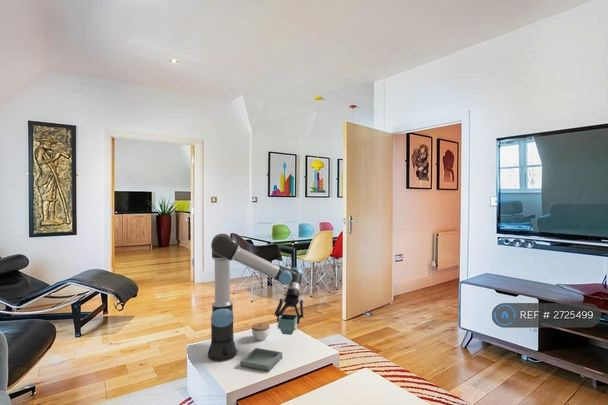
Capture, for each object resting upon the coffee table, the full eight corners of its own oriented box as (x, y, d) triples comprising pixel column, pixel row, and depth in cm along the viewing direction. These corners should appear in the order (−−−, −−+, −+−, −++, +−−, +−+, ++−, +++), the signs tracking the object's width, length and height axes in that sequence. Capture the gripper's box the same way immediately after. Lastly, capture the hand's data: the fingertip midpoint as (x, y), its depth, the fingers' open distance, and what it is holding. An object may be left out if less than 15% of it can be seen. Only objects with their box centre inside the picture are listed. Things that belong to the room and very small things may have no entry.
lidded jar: (273, 337, 202) (273, 322, 202) (261, 343, 193) (261, 327, 193) (259, 333, 208) (259, 319, 208) (248, 339, 199) (248, 324, 199)
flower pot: (293, 337, 177) (294, 320, 177) (278, 335, 179) (278, 319, 179) (297, 331, 186) (297, 315, 186) (282, 329, 187) (282, 313, 188)
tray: (240, 366, 165) (240, 360, 165) (255, 353, 180) (255, 347, 180) (268, 372, 160) (268, 365, 160) (282, 357, 175) (282, 352, 175)
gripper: (311, 296, 196) (307, 333, 180) (276, 294, 200) (269, 330, 184) (310, 289, 191) (305, 326, 175) (274, 287, 194) (266, 323, 179)
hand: (286, 328), depth 179 cm, fingers closed on flower pot, 9 cm apart
